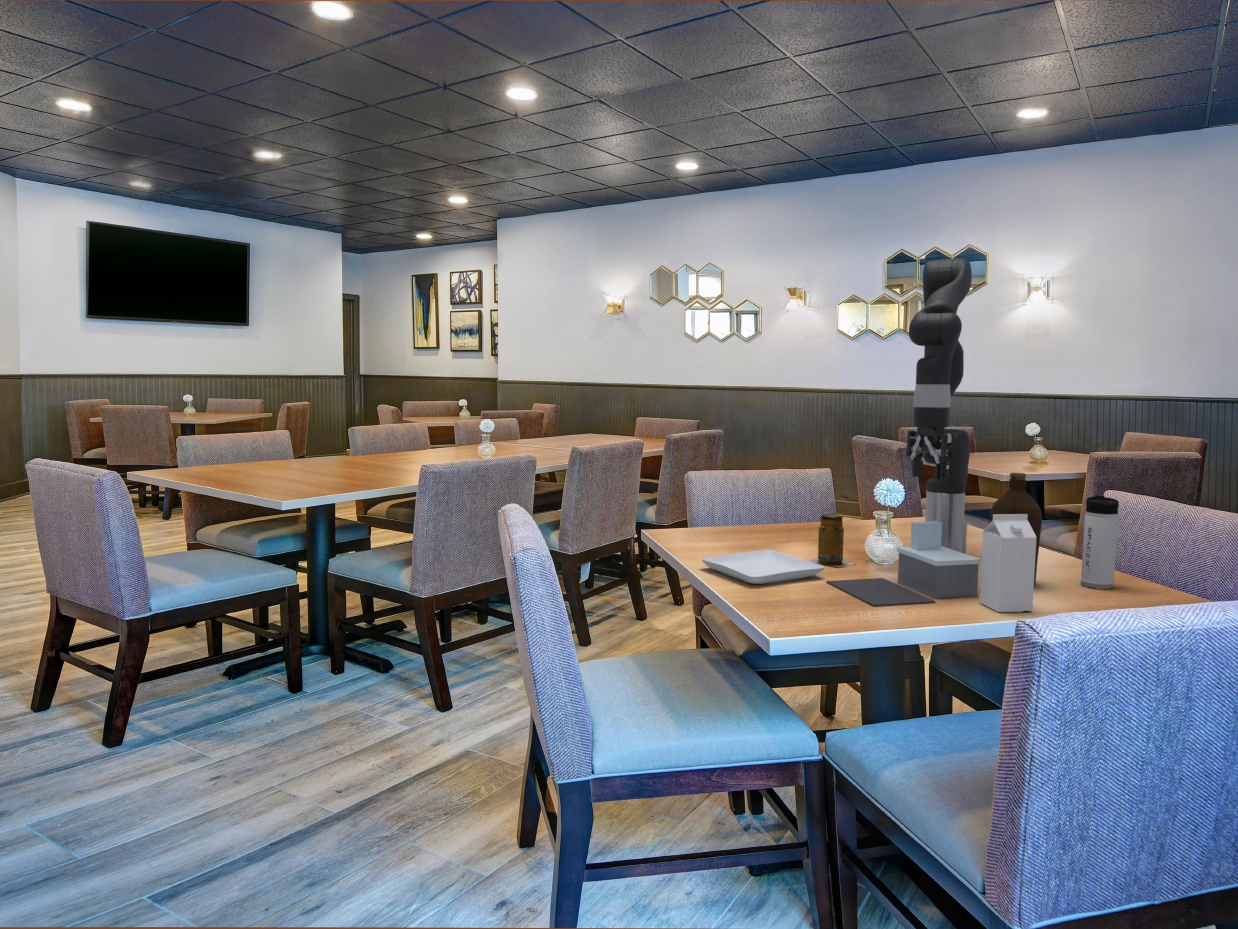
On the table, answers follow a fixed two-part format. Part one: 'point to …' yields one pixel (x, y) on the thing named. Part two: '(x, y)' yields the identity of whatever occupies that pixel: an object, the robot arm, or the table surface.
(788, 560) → the salad plate
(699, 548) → the table surface
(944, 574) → the tub
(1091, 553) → the travel mug
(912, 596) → the mat
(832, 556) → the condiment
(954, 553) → the lid
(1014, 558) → the milk carton
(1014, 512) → the olive oil
